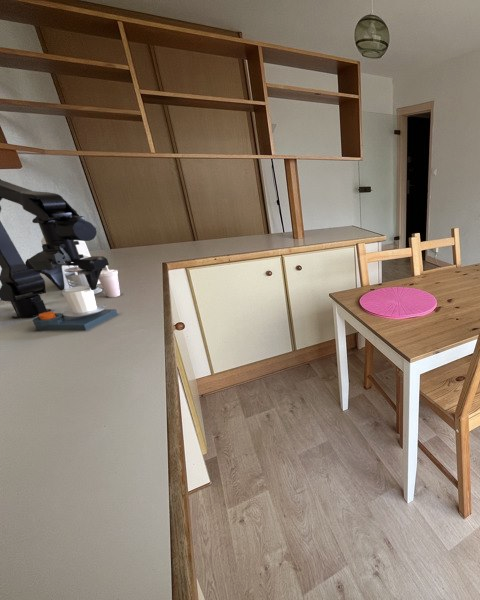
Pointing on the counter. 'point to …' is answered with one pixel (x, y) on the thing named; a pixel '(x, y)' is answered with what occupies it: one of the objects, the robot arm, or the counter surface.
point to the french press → (78, 278)
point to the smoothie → (110, 282)
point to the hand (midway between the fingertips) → (78, 289)
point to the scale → (74, 321)
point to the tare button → (46, 315)
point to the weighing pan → (70, 314)
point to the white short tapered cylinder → (80, 298)
